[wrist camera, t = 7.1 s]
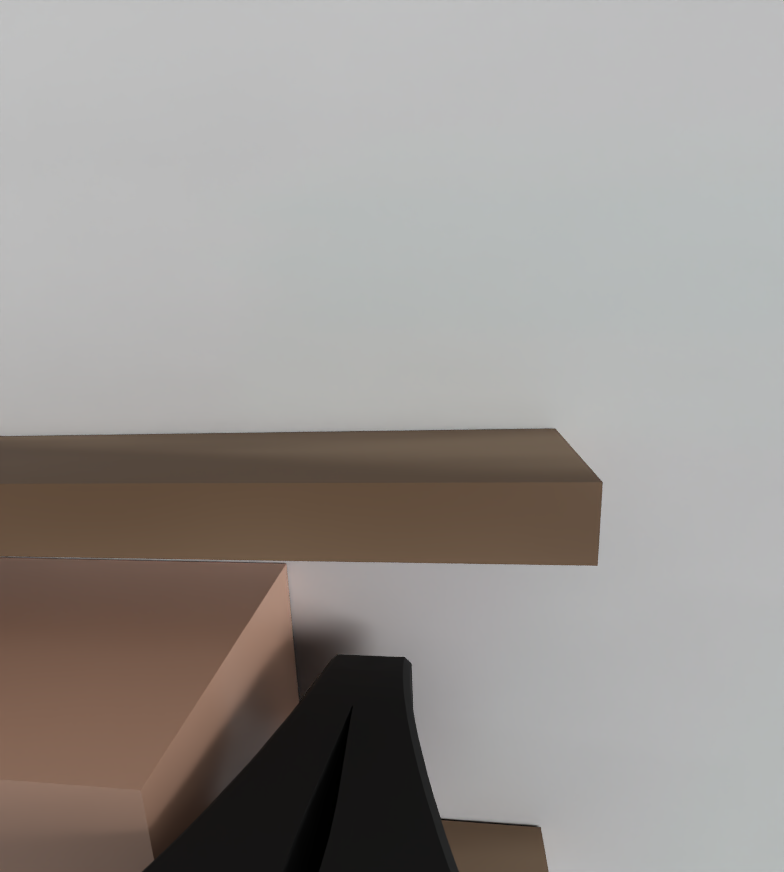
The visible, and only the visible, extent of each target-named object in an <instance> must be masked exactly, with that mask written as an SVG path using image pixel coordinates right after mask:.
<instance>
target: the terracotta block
mask: <svg viewBox="0 0 784 872" xmlns="http://www.w3.org/2000/svg"><path fill="white" fill-rule="evenodd" d="M298 703H299V695H298V684H297V674H296V663H295V652H294V641H293V630H292V620H291V609H290V598H289V587H288V576H287V565H286V564H279V563H232V562H185V561H137V560H90V559H43V558H0V872H142V871H143V870H144V869H145V868H146V867H147V866H148V865H149V864H150V863H151V862H153V861H154V860H155V859H156V858H157V857H158V856H159V855H160V854H161V853H162V852H163V851H164V850H165V849H166V848H167V847H168V846H169V845H170V844H171V843H172V842H174V841H175V840H176V839H177V838H178V837H179V836H180V835H181V834H182V833H183V832H184V831H185V830H186V829H187V828H188V827H189V826H190V825H191V824H192V823H193V822H194V821H195V820H196V819H197V818H198V817H199V816H200V815H201V814H202V812H203V811H204V810H205V809H206V808H207V807H208V806H209V805H210V804H211V803H212V802H213V801H214V800H215V799H216V798H217V797H218V795H219V794H220V793H221V792H222V791H223V790H224V789H225V788H226V787H227V786H228V785H229V784H230V782H231V781H232V780H233V779H234V778H235V777H236V776H237V775H238V774H239V773H240V772H241V771H242V769H243V768H244V767H245V766H246V765H247V764H248V763H249V762H250V761H251V760H252V758H253V757H254V756H255V755H256V754H257V753H258V752H259V750H260V749H261V748H262V747H263V746H264V744H265V743H266V742H267V741H268V740H269V738H270V737H271V736H272V735H273V734H274V732H275V731H276V730H277V729H278V728H279V727H280V725H281V724H282V723H283V722H284V721H285V719H286V718H287V717H288V716H289V715H290V713H291V712H292V711H293V709H294V708H295V707H296V706H297V704H298Z"/></svg>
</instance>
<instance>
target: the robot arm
mask: <svg viewBox="0 0 784 872" xmlns="http://www.w3.org/2000/svg"><path fill="white" fill-rule="evenodd" d="M142 872H459V871H458V868H457V865H456V862H455V860H454V857H453V854H452V851H451V848H450V845H449V842H448V839H447V836H446V834H445V830H444V827H443V824H442V821H441V818H440V815H439V812H438V808H437V805H436V802H435V799H434V796H433V792H432V789H431V785H430V782H429V778H428V775H427V771H426V767H425V763H424V759H423V755H422V751H421V747H420V742H419V738H418V734H417V729H416V724H415V718H414V712H413V691H412V664H411V663H410V662H409V661H408V660H407V659H406V658H405V657H386V656H360V655H336V656H335V657H334V658H333V659H332V660H331V661H330V663H329V664H328V665H327V667H326V668H325V669H324V671H323V672H322V673H321V675H320V676H319V677H318V679H317V680H316V681H315V683H314V684H313V685H312V687H311V688H310V689H309V690H308V692H307V693H306V694H305V696H304V697H303V698H302V699H301V701H300V702H299V703H298V704H297V706H296V707H295V708H294V709H293V711H292V712H291V713H290V715H289V716H288V717H287V718H286V719H285V721H284V722H283V723H282V724H281V725H280V727H279V728H278V729H277V730H276V731H275V732H274V734H273V735H272V736H271V737H270V738H269V740H268V741H267V742H266V743H265V744H264V746H263V747H262V748H261V749H260V750H259V752H258V753H257V754H256V755H255V756H254V757H253V758H252V760H251V761H250V762H249V763H248V764H247V765H246V766H245V767H244V768H243V769H242V771H241V772H240V773H239V774H238V775H237V776H236V777H235V778H234V779H233V780H232V781H231V782H230V784H229V785H228V786H227V787H226V788H225V789H224V790H223V791H222V792H221V793H220V794H219V795H218V797H217V798H216V799H215V800H214V801H213V802H212V803H211V804H210V805H209V806H208V807H207V808H206V809H205V810H204V811H203V812H202V814H201V815H200V816H199V817H198V818H197V819H196V820H195V821H194V822H193V823H192V824H191V825H190V826H189V827H188V828H187V829H186V830H185V831H184V832H183V833H182V834H181V835H180V836H179V837H178V838H177V839H176V840H175V841H174V842H172V843H171V844H170V845H169V846H168V847H167V848H166V849H165V850H164V851H163V852H162V853H161V854H160V855H159V856H158V857H157V858H156V859H155V860H154V861H153V862H151V863H150V864H149V865H148V866H147V867H146V868H145V869H144V870H143V871H142Z"/></svg>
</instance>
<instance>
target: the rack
mask: <svg viewBox="0 0 784 872" xmlns="http://www.w3.org/2000/svg"><path fill="white" fill-rule="evenodd" d="M602 483H603V482H602V481H601V480H600V479H599V478H598V477H597V475H596V474H595V473H594V472H593V471H592V470H591V469H590V467H589V466H588V465H587V464H586V463H585V462H584V461H583V460H582V458H581V457H580V456H579V455H578V454H577V453H576V452H575V450H574V449H573V448H572V447H571V446H570V445H569V444H568V443H567V441H566V440H565V439H564V438H563V437H562V436H561V435H560V433H559V432H558V431H557V430H556V429H492V430H421V431H350V432H279V433H208V434H137V435H66V436H0V556H19V557H82V558H146V559H210V560H273V561H337V562H401V563H464V564H528V565H592V566H598V549H599V533H600V516H601V500H602ZM441 821H442V824H443V827H444V830H445V834H446V836H447V839H448V842H449V845H450V848H451V851H452V854H453V857H454V860H455V862H456V865H457V868H458V871H459V872H548V866H547V860H546V855H545V849H544V843H543V838H542V832H541V827H528V826H514V825H500V824H487V823H473V822H459V821H446V820H441Z"/></svg>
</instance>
